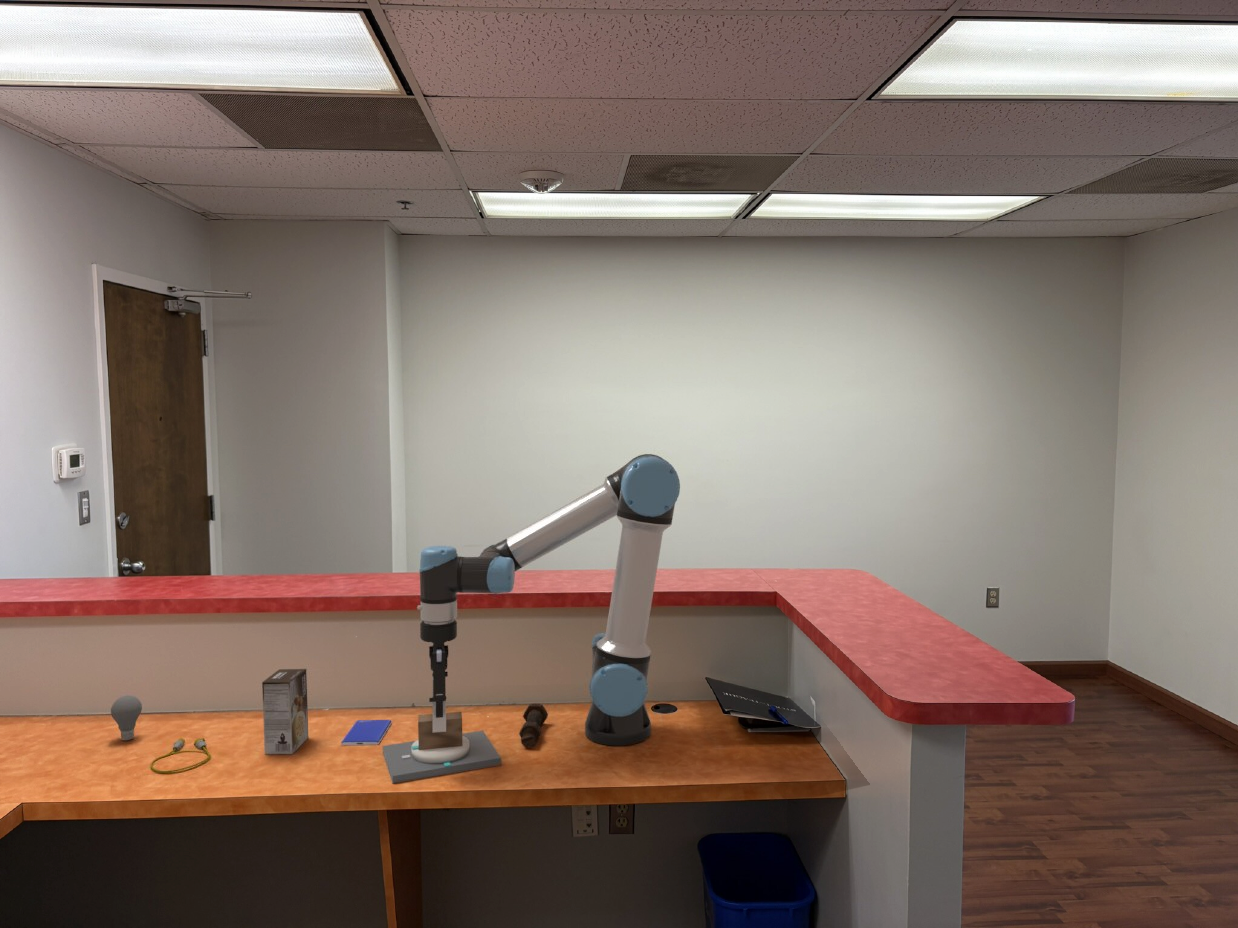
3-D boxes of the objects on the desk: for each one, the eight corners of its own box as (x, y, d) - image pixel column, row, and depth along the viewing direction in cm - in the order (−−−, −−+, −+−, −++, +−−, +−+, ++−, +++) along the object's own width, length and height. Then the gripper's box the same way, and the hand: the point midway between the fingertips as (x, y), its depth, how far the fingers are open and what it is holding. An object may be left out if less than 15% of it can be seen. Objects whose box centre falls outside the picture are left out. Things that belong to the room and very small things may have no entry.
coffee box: (280, 737, 185) (278, 668, 184) (309, 737, 185) (307, 668, 184) (263, 754, 176) (261, 681, 175) (293, 754, 176) (291, 681, 175)
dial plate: (483, 736, 185) (482, 729, 185) (501, 764, 170) (501, 756, 170) (382, 752, 177) (382, 744, 177) (392, 783, 162) (392, 774, 162)
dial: (462, 736, 181) (462, 703, 181) (475, 757, 170) (474, 722, 170) (407, 745, 177) (406, 711, 176) (416, 767, 166) (415, 731, 165)
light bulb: (105, 742, 182) (103, 698, 182) (129, 732, 188) (127, 690, 187) (125, 746, 180) (124, 701, 180) (149, 736, 186) (147, 693, 185)
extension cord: (233, 746, 181) (232, 737, 181) (187, 777, 166) (187, 768, 166) (182, 743, 183) (181, 735, 183) (132, 775, 167) (131, 765, 167)
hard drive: (356, 719, 193) (340, 741, 180) (391, 719, 193) (378, 740, 181) (356, 726, 193) (341, 748, 181) (391, 725, 193) (378, 747, 181)
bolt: (524, 757, 178) (533, 729, 193) (544, 747, 178) (551, 718, 193) (511, 735, 178) (520, 708, 193) (531, 724, 178) (538, 698, 193)
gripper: (421, 607, 183) (421, 699, 184) (419, 637, 159) (420, 743, 160) (455, 605, 185) (455, 697, 186) (458, 635, 160) (459, 740, 162)
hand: (439, 719), depth 173 cm, fingers open, 13 cm apart
